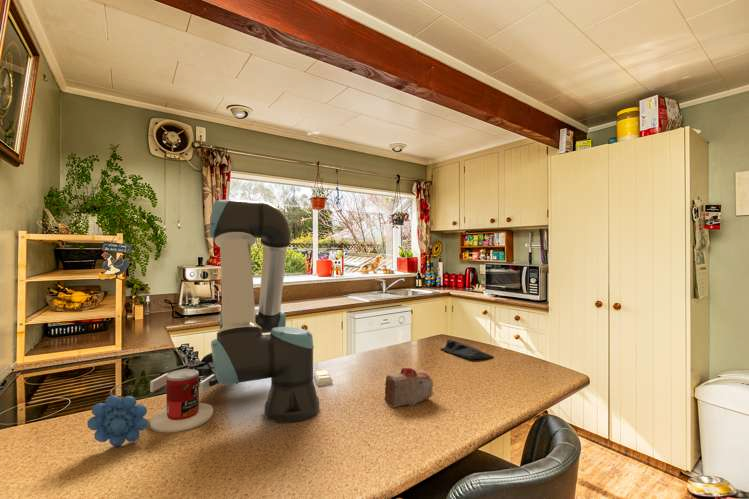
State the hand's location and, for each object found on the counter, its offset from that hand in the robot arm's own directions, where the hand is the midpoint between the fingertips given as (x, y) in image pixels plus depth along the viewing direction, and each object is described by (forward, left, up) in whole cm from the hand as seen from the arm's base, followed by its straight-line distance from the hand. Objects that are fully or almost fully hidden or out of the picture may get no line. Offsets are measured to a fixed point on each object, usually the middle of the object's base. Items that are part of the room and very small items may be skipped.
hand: (176, 387), depth 95 cm
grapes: (0, +13, -10) cm, 17 cm away
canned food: (+1, -3, -8) cm, 9 cm away
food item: (-46, -45, -10) cm, 65 cm away
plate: (+1, -3, -9) cm, 10 cm away
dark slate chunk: (-45, -103, -10) cm, 113 cm away
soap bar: (-13, -45, -10) cm, 48 cm away
